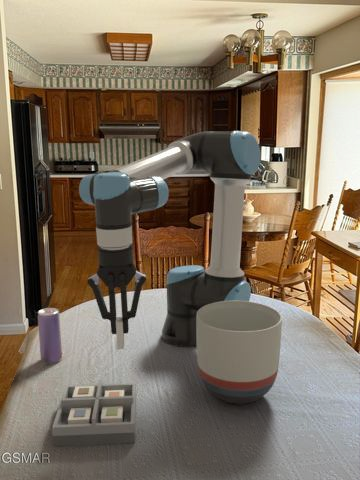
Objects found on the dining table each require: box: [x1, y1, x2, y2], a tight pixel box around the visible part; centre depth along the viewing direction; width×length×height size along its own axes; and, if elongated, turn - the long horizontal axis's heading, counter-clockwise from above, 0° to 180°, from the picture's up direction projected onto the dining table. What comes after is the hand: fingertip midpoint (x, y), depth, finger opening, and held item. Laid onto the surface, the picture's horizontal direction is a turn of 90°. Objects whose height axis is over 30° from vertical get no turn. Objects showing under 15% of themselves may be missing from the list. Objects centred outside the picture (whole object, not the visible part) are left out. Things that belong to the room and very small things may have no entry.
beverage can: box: [37, 307, 63, 365], centre depth 137 cm, size 6×6×15 cm
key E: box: [72, 386, 95, 398], centre depth 111 cm, size 4×4×3 cm
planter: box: [196, 300, 283, 405], centre depth 117 cm, size 20×20×21 cm
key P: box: [101, 406, 123, 423], centre depth 105 cm, size 4×4×3 cm
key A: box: [104, 390, 124, 397], centre depth 112 cm, size 4×4×3 cm
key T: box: [68, 408, 92, 425], centre depth 105 cm, size 4×4×3 cm
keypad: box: [51, 379, 137, 447], centre depth 109 cm, size 17×18×6 cm
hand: (120, 346), depth 108 cm, fingers closed
